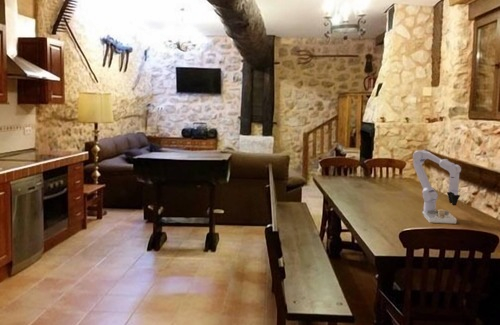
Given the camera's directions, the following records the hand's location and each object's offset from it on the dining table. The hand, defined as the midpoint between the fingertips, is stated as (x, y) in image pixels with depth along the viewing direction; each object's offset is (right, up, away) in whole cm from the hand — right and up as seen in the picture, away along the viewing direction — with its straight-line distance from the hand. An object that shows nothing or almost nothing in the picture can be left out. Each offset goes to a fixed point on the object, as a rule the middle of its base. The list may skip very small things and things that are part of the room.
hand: (452, 204), depth 316 cm
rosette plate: (-10, -10, -3) cm, 14 cm away
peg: (-10, -10, -5) cm, 15 cm away
